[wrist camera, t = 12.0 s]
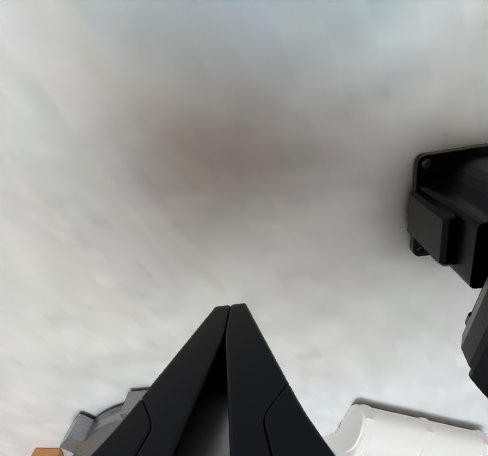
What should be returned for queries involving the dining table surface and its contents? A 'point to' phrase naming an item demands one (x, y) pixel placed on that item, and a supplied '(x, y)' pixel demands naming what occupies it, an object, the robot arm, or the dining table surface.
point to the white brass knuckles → (401, 436)
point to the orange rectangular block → (47, 452)
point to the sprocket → (97, 427)
